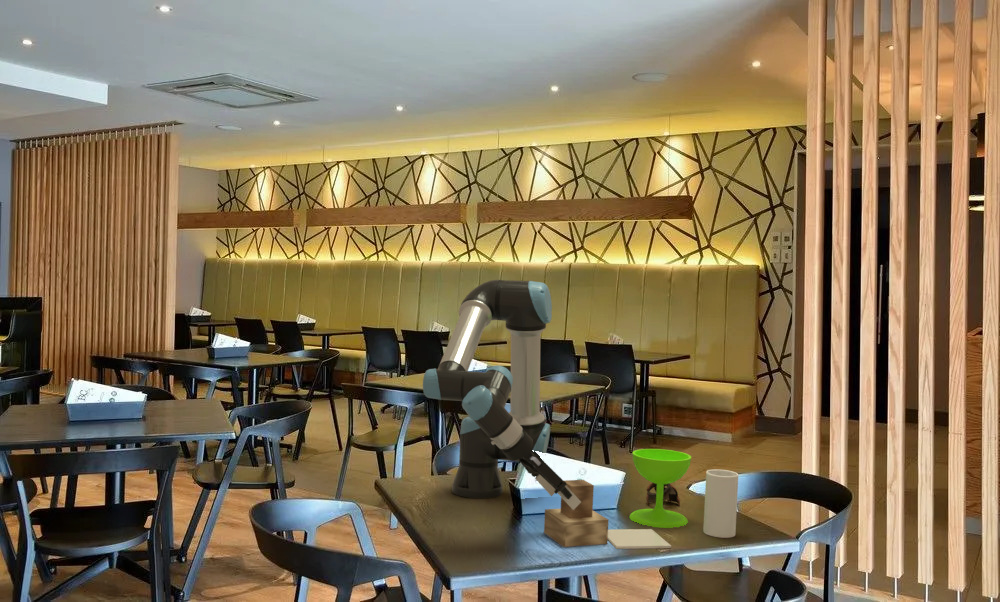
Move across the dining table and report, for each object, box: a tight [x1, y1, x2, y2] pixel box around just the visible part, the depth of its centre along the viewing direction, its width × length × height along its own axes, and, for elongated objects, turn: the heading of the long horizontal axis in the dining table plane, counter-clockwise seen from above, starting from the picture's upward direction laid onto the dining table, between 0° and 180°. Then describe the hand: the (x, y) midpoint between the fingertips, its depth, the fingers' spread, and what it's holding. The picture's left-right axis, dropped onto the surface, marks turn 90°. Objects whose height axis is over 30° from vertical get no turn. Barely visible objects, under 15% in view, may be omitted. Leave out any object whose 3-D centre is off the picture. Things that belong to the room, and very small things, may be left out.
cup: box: [702, 468, 739, 539], centre depth 232 cm, size 8×8×16 cm
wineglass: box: [628, 448, 692, 529], centre depth 243 cm, size 16×16×18 cm
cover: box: [543, 479, 609, 548], centre depth 222 cm, size 12×12×14 cm
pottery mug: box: [645, 482, 681, 507], centre depth 261 cm, size 12×10×8 cm
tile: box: [607, 528, 672, 550], centre depth 223 cm, size 14×14×1 cm
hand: (565, 498), depth 220 cm, fingers open, 13 cm apart
